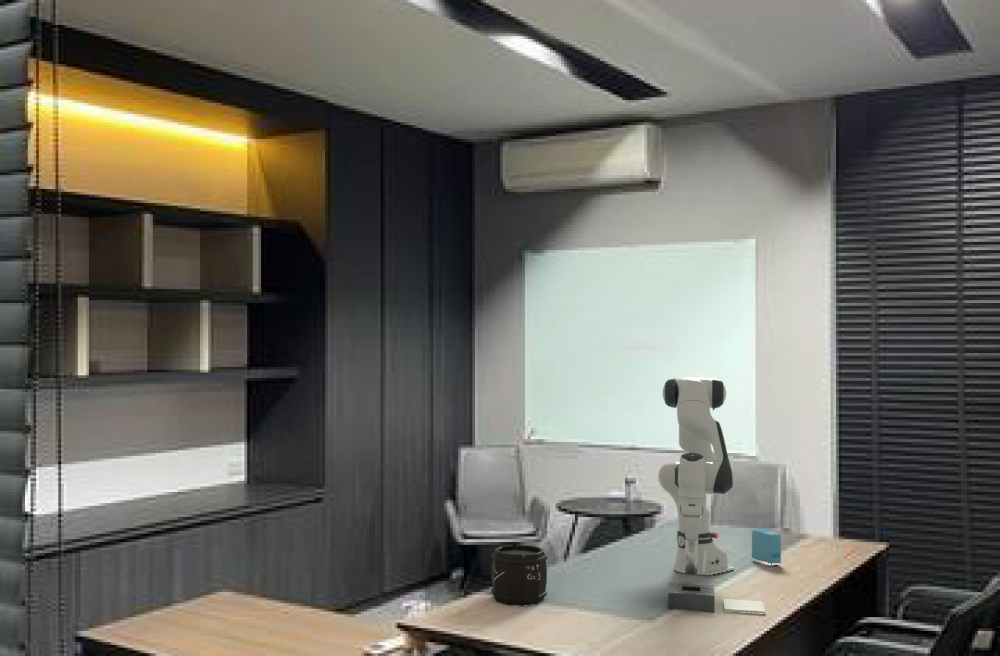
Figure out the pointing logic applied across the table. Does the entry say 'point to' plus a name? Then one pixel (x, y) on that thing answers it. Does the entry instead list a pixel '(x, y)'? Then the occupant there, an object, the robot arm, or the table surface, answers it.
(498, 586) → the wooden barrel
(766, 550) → the data package
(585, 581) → the table surface
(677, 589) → the block
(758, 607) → the pad
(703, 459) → the robot arm
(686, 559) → the key peg
